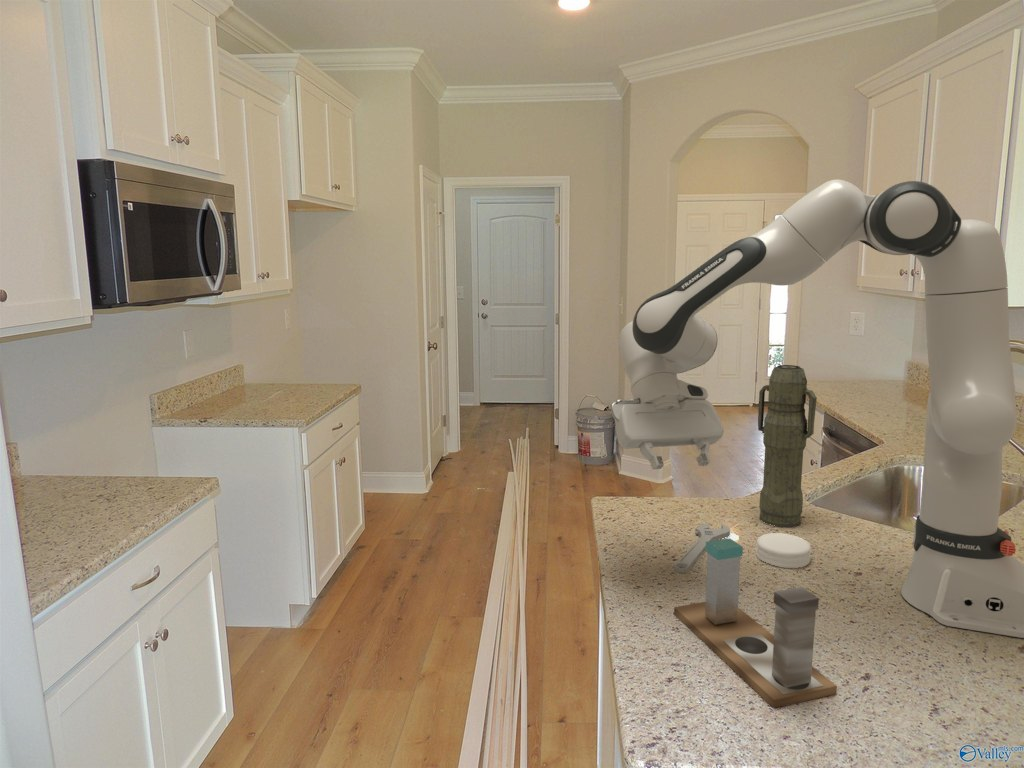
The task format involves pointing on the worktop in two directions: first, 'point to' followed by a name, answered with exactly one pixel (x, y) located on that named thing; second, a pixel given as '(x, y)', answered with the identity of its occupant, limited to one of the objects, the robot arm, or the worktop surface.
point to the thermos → (784, 444)
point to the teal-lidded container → (722, 580)
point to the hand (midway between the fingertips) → (681, 466)
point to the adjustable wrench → (700, 546)
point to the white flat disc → (783, 550)
